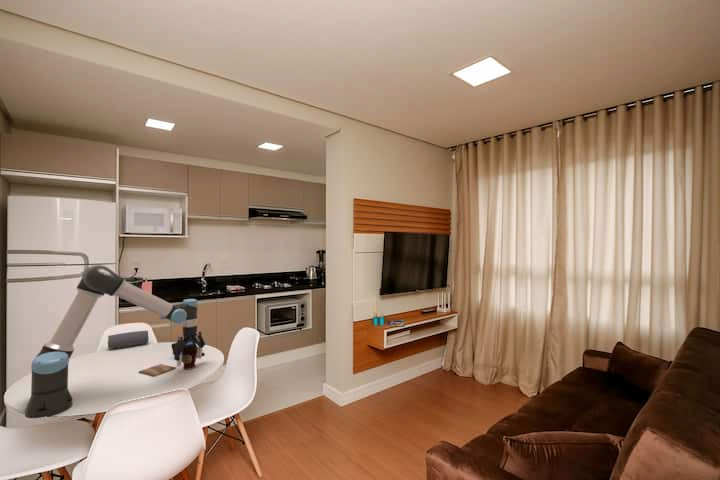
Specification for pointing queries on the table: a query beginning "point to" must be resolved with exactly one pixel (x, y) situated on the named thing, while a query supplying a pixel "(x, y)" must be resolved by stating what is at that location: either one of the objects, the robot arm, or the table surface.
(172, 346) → the handheld game console
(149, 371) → the walnut board
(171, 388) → the table surface
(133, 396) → the table surface
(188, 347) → the coffee cup
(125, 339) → the bluetooth speaker
